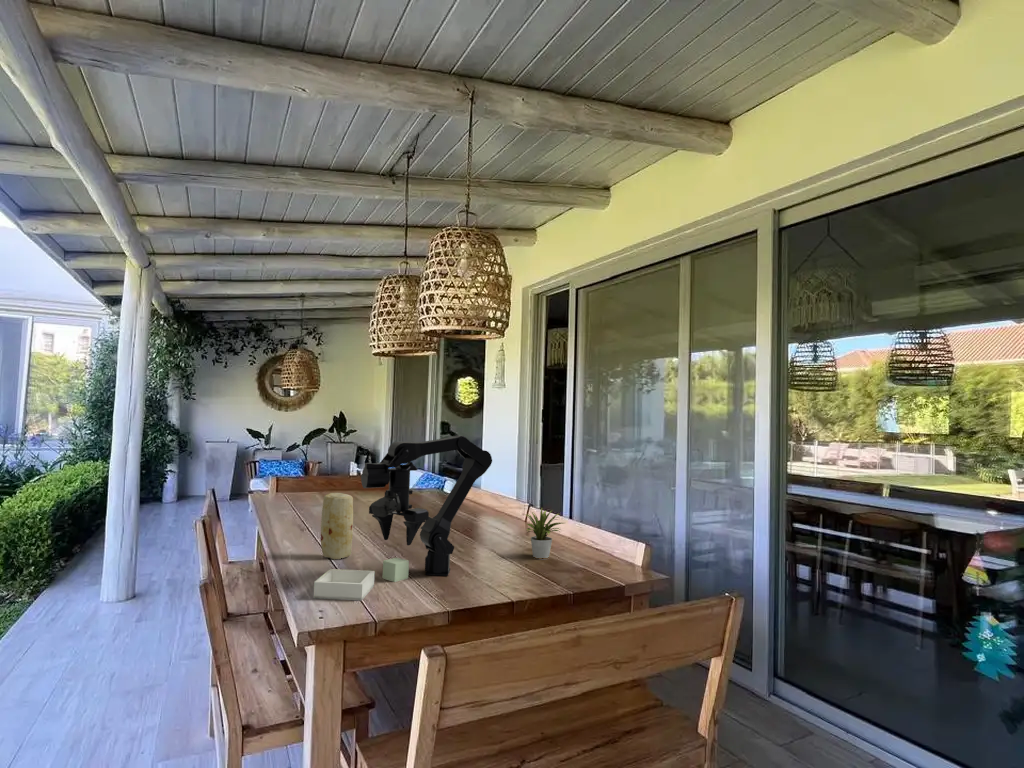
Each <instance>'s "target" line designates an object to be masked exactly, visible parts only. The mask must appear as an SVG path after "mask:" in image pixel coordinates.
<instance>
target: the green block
mask: <svg viewBox="0 0 1024 768" xmlns="http://www.w3.org/2000/svg"><path fill="white" fill-rule="evenodd" d="M409 563H410V561H409V560H408V559H405V558H400V557H393V558H392V557H391V558H388V559H385V560H382V576H381V577H382V579H383V580H385V581H386V580H387V581H390V582H393V583H397V582H399V581H403V580H407V579H409V571H410V570H409V568H410V564H409Z"/></svg>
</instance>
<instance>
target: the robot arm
mask: <svg viewBox="0 0 1024 768" xmlns="http://www.w3.org/2000/svg"><path fill="white" fill-rule="evenodd" d="M451 451H457V452H458V454H459V455H460V456H461V457H463V459H464V460H463V463H462V469H461V474H460V475H459V477H458V479H457V481H456V482H455V484H454V485H453V487H452V489H451V490H450V493H448V495H447V497H446V499H445V501H444V502H443V504H442V505H441V508H440V509H439V511H438V512H437V514H436V515H434V516H433V517H431V516H429V515H430V513H429V510H427V509H426V508H420V507H415V508H413V505H412V504H410V495H413V489H410V488H411V487H410V485H411V472H413V471H418V467H417V466H416V465H414V461H415V460H418V459H420V458H421V457H422V458H423V457H425V456H427V455H435V454H439V453H440V454H441V453H446V452H451ZM384 455H385V456H384V457H383V458H382V459H381V461H380V462H379V463H377V462H376V463H371V462H365V463H364V467H363V469H362V472H361V477H360V482H361V485H362V488H363V489H377V488H378V489H379V488H385V487H386V486H388V489H387V490H385V491H384V496H383V497H380V498H378V499H377V500H375V501H374V502H372V503H371V504H370V506H369V507H368V514H370V515H371V516H372V518H374V519H375V520H376V521H378V525H379V527H380V529H381V534H382V537H383V541H387V540H389V537H390V532H391V528H392V523H393V518H394V515H395V516H396V515H397V516H401V517H403V518H404V520H405V521H402V523H403V524H404V526H405V528H406V529H405V532H406V545H407V546H410V545H412V543H413V541H414V538H415V537H416V536H417V535H416V534H417V533H418V531H419V530H420V529H421V530H420V532H419V536H420V538H419V539H420V541H421V542H422V544H424V547H425V549H426V550H428V551H427V554H426V556H425V559H424V561H425V562H424V571H425V574H424V575H425V576H443V577H444V576H445V577H447V576H449V574H450V573H451V568H450V566H451V564H450V563H451V555H452V554H453V552H454V550H455V546H454V544H452V542H450V541H449V539H448V538H449V535H450V534H451V528H452V527H451V526H452V522H453V520H454V519H455V516H457V513H458V511H459V509H460V508H461V507H462V505H463V503H464V501H465V499H466V498H467V496H468V494H469V493H470V491H471V490H472V487H473V486H474V484H475V482H476V481H477V480H478V479H479V478H480V477H481V476H483V475H484V474H485V473H486V472H487V471H488V469H489V468H490V467H491V466H492V463H493V458H492V455H491V452H490V451H487V450H483V449H481V448H480V447H479V446H478V445H476V444H474V443H473V442H472V441H470V440H469V439H468V438H467V437H466V436H464V435H453V436H450V437H445V438H444V437H443V438H438V439H431V440H425V441H420V442H419V441H393V442H392V443H390V445H389V447H388V448H387V453H386V454H384ZM422 524H423V525H422Z"/></svg>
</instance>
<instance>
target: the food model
mask: <svg viewBox="0 0 1024 768" xmlns="http://www.w3.org/2000/svg"><path fill="white" fill-rule="evenodd" d="M321 508H322V509H321V510H322V511H321V520H320V548H321V553H322V556H323V557H324V558H329V559H331V560H335V559H338V560H341V558H342V559H344V558H348V557H350V555H351V554H352V544H353V527H354V526H353V525H354V498H353V496H352V495H350V494H347V493H343V492H331V493H327V494H325V495H324V496H323V501H322V507H321Z"/></svg>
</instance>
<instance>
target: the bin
mask: <svg viewBox="0 0 1024 768" xmlns="http://www.w3.org/2000/svg"><path fill="white" fill-rule="evenodd" d="M375 573H376V572H375V570H364V569H363V570H362V569H361V570H359V569H358V570H357V569H341V568H340V569H339V568H338V569H336V568H330V569H328V570H327V571H325V573H324V574H322V575H321V576H320V577H318V578H317V579H316V580H314V581H313V583H314V584H313V599H316V600H317V599H318V600H319V599H320V600H336V601H338V600H339V601H359V602H361V601H363V600H364V598H366V596H367V595H368V594H369V593H370V591H372V589H373V588H374V586H375Z"/></svg>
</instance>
